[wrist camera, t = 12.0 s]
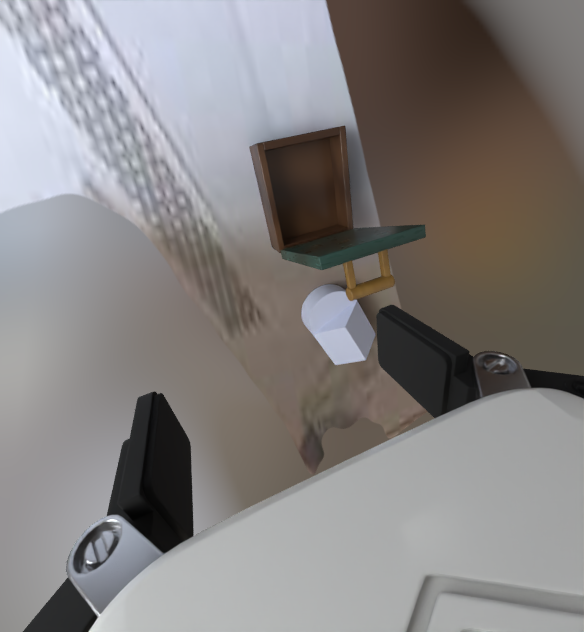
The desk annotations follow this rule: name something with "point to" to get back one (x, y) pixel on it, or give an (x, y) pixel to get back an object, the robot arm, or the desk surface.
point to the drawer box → (304, 186)
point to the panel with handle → (355, 253)
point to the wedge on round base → (338, 324)
